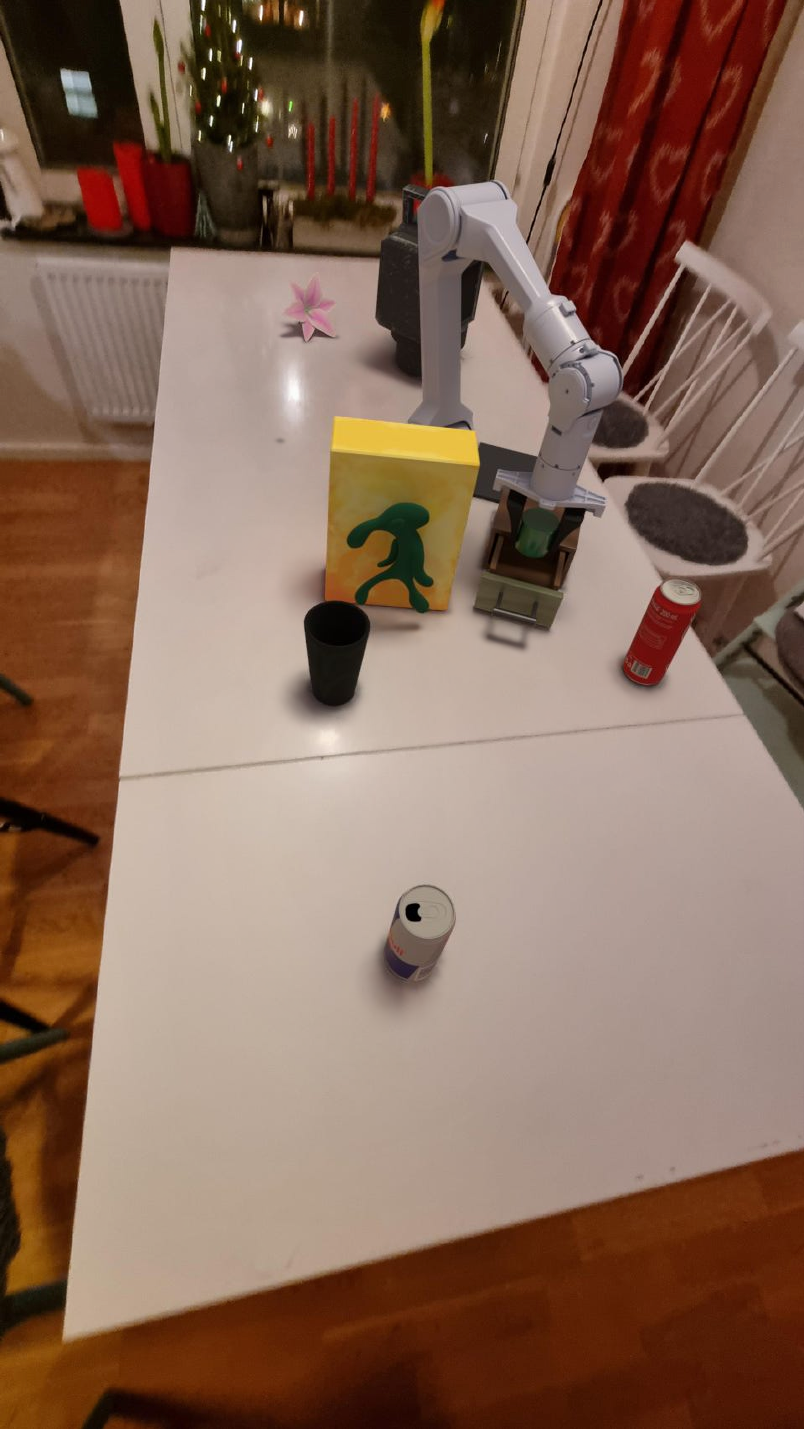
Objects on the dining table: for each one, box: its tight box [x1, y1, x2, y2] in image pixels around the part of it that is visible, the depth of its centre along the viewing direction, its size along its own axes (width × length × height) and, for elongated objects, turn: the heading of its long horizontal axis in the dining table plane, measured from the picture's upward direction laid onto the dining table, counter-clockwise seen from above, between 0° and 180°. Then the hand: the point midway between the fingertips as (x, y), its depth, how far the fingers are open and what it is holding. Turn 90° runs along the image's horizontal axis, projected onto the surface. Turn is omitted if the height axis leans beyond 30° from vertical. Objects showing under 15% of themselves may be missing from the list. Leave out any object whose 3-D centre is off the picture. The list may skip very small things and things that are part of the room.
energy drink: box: [383, 883, 457, 983], centre depth 65 cm, size 5×5×12 cm
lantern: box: [374, 183, 486, 380], centre depth 131 cm, size 15×18×30 cm
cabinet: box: [481, 489, 582, 589], centre depth 108 cm, size 15×13×8 cm
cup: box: [303, 600, 372, 707], centre depth 84 cm, size 8×8×12 cm
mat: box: [473, 441, 538, 504], centre depth 122 cm, size 16×16×1 cm
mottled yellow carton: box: [324, 415, 480, 614], centre depth 90 cm, size 18×12×24 cm
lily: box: [282, 271, 337, 342], centre depth 144 cm, size 12×12×10 cm
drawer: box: [473, 534, 566, 628], centre depth 100 cm, size 18×11×6 cm, turn 165°
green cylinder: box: [515, 508, 560, 558], centre depth 96 cm, size 5×5×5 cm
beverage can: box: [622, 576, 702, 686], centre depth 91 cm, size 6×6×15 cm
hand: (532, 543), depth 97 cm, fingers closed on green cylinder, 5 cm apart
